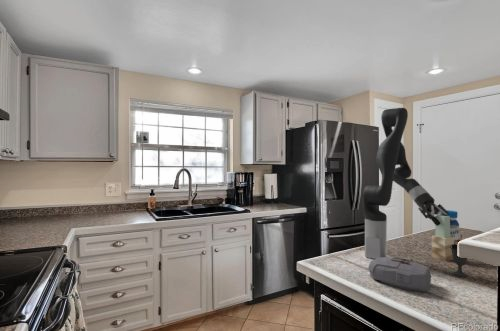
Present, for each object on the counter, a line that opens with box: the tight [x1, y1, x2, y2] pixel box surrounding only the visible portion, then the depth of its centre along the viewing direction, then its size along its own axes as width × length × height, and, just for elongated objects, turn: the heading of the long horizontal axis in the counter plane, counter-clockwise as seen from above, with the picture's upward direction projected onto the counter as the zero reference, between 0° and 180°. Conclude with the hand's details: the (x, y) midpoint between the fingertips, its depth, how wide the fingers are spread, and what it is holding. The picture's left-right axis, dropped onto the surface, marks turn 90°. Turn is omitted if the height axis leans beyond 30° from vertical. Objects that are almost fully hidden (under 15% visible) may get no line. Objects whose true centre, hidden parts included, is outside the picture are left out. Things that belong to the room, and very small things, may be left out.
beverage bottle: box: [441, 209, 461, 242], centre depth 136 cm, size 8×8×20 cm
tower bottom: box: [431, 246, 454, 262], centre depth 123 cm, size 6×6×5 cm
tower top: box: [431, 235, 454, 250], centre depth 123 cm, size 6×6×5 cm
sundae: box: [450, 234, 469, 278], centre depth 104 cm, size 7×7×15 cm
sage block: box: [434, 215, 450, 238], centre depth 123 cm, size 4×4×10 cm
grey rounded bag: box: [367, 256, 432, 293], centre depth 96 cm, size 15×8×20 cm
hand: (445, 224), depth 122 cm, fingers open, 8 cm apart
